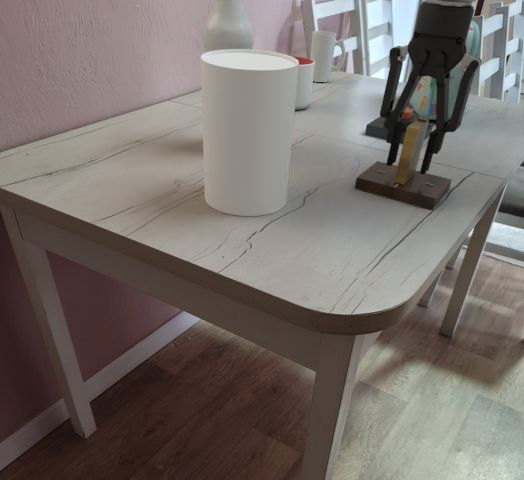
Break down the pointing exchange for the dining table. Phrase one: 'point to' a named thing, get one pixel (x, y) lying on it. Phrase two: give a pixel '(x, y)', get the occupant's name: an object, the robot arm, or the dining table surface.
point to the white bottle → (227, 27)
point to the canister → (247, 129)
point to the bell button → (407, 114)
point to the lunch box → (427, 90)
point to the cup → (304, 82)
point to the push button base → (382, 124)
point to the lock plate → (413, 191)
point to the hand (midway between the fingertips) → (407, 167)
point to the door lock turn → (411, 150)
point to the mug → (325, 54)
